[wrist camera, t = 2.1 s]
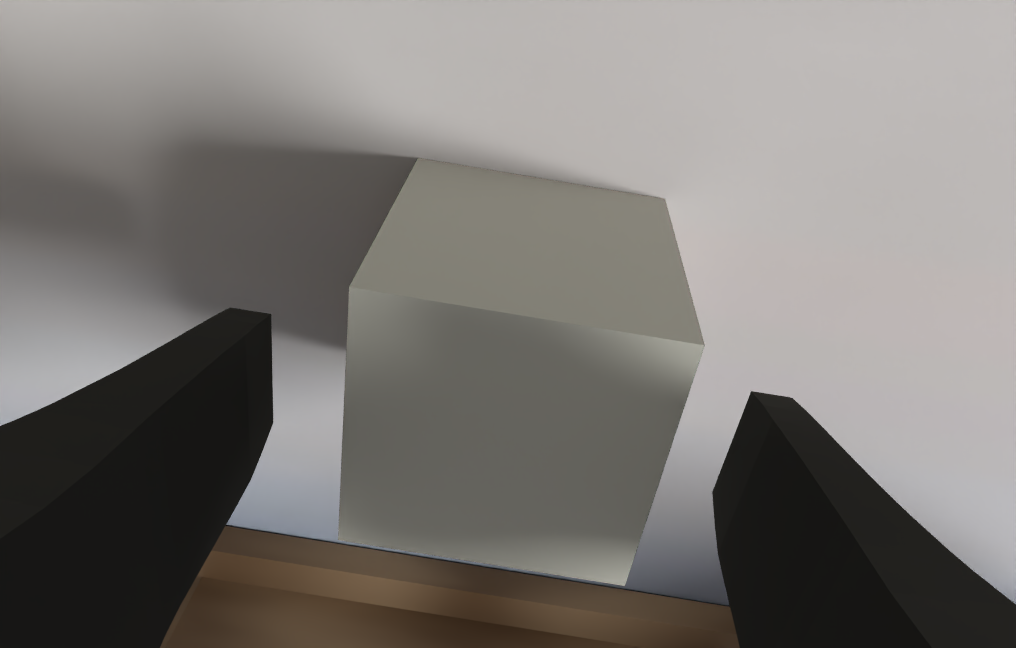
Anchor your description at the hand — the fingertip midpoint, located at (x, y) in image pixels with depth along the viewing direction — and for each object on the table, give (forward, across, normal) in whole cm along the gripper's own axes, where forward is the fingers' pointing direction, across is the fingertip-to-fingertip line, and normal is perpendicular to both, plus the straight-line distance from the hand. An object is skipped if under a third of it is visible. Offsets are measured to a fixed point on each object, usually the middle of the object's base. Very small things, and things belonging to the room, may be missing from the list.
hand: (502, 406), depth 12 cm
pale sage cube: (+4, 0, 0) cm, 4 cm away
